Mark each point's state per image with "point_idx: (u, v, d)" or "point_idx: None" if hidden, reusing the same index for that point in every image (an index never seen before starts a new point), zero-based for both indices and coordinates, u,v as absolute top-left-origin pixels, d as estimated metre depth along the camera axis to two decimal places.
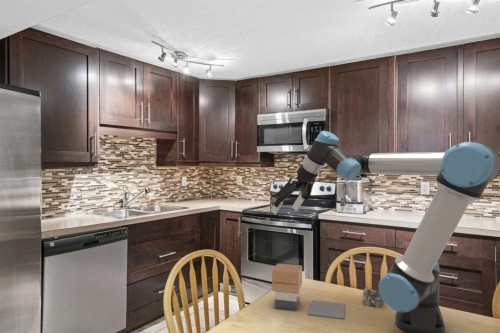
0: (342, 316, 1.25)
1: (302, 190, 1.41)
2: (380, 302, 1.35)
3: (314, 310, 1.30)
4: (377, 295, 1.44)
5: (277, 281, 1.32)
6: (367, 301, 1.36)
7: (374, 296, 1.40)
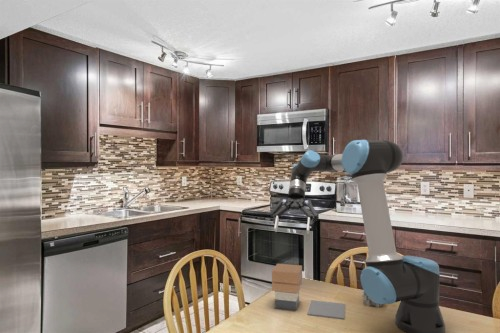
0: (342, 316, 1.25)
1: (304, 212, 1.52)
2: None
3: (314, 310, 1.30)
4: None
5: (277, 281, 1.32)
6: (367, 301, 1.35)
7: None
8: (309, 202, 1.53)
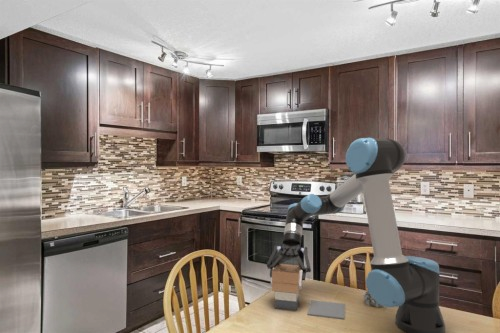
0: (342, 316, 1.25)
1: (298, 261, 1.39)
2: None
3: (314, 310, 1.30)
4: None
5: (277, 281, 1.32)
6: (367, 301, 1.36)
7: None
8: (305, 251, 1.40)
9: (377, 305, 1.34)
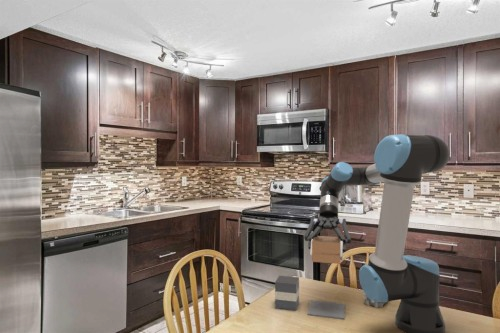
0: (342, 316, 1.25)
1: (337, 233, 1.35)
2: (380, 303, 1.34)
3: (314, 310, 1.30)
4: None
5: (317, 252, 1.28)
6: (367, 301, 1.36)
7: None
8: (344, 222, 1.36)
9: (376, 305, 1.34)
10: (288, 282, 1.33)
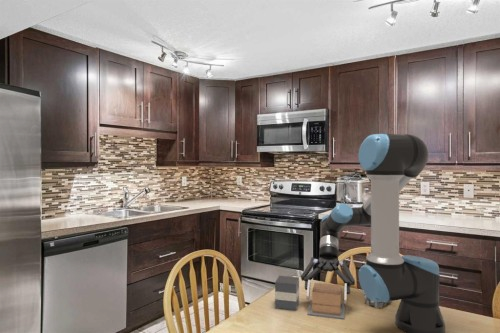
0: (342, 316, 1.25)
1: (339, 275, 1.35)
2: (380, 304, 1.33)
3: None
4: None
5: (317, 302, 1.28)
6: (367, 300, 1.36)
7: None
8: (344, 264, 1.37)
9: (376, 305, 1.33)
10: (288, 282, 1.33)
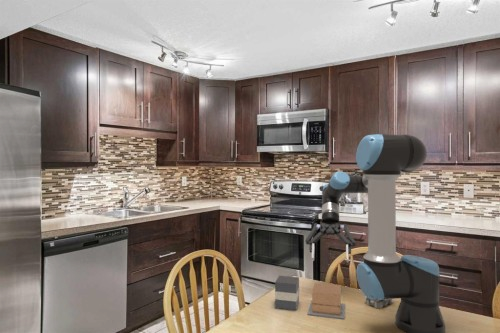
0: (342, 316, 1.25)
1: (341, 238, 1.46)
2: (379, 304, 1.33)
3: None
4: None
5: (317, 302, 1.28)
6: (367, 300, 1.36)
7: None
8: (345, 227, 1.48)
9: (375, 306, 1.33)
10: (288, 282, 1.33)
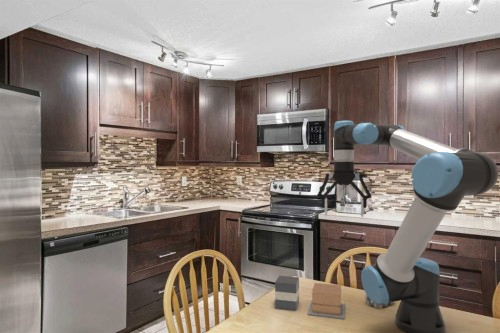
0: (342, 316, 1.25)
1: (355, 189, 1.35)
2: (379, 304, 1.33)
3: None
4: None
5: (317, 302, 1.28)
6: (367, 300, 1.36)
7: None
8: (361, 178, 1.33)
9: (375, 306, 1.33)
10: (288, 282, 1.33)
